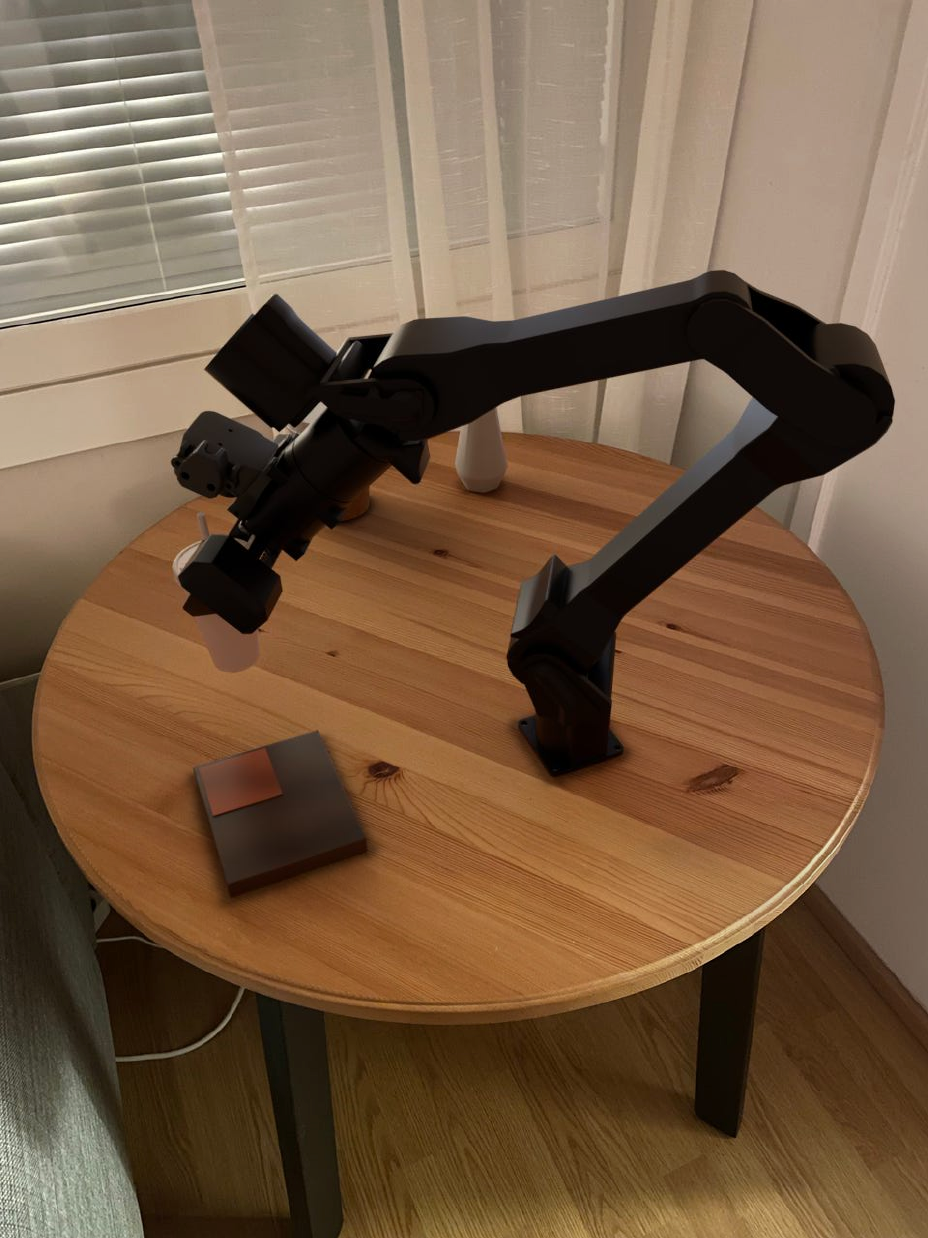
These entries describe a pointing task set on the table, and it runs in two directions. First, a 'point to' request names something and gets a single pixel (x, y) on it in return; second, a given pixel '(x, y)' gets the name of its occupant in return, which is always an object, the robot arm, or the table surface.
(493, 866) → the table surface
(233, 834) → the board
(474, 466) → the salt shaker
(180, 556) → the smoothie
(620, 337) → the robot arm
